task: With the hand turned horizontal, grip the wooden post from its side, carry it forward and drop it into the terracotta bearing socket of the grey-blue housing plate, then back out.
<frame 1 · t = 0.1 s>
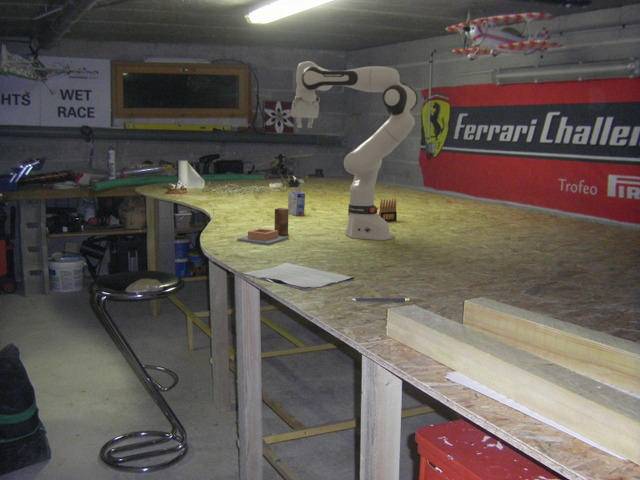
hand: (304, 127, 295), 48 cm above the table, tool pointing down, fingers open, 8 cm apart
housing: (263, 240, 273), on the table
wooden post: (281, 234, 286), on the table
ammunition clip: (387, 221, 331), on the table
ink cartridge box: (296, 215, 346), on the table
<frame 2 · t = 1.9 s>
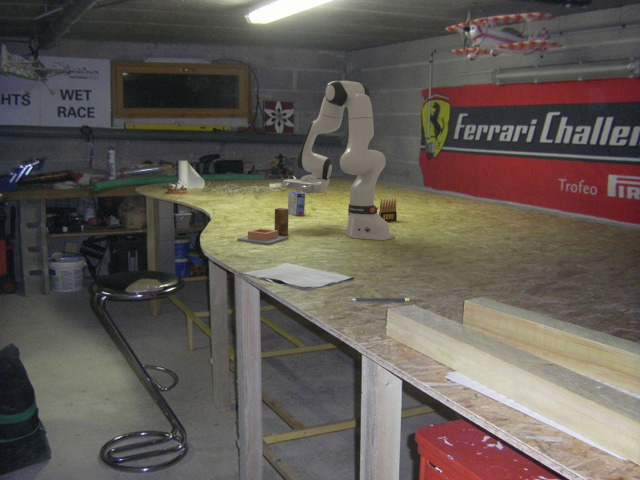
hand: (295, 187, 292), 21 cm above the table, tool horizontal, fingers open, 8 cm apart
nothing on the table moved.
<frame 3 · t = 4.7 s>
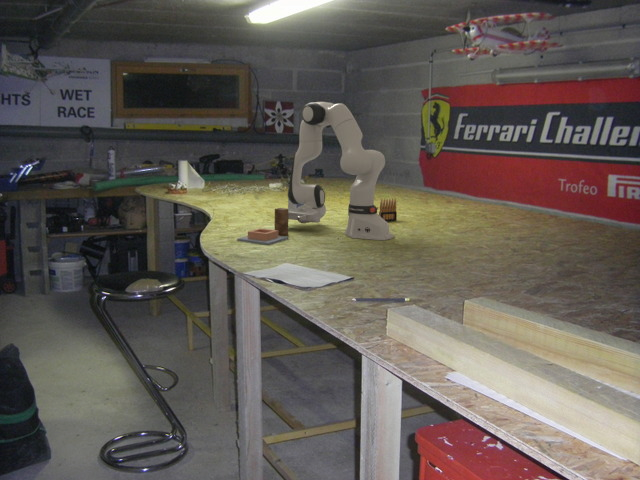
hand: (289, 217, 291), 7 cm above the table, tool horizontal, fingers open, 8 cm apart
nothing on the table moved.
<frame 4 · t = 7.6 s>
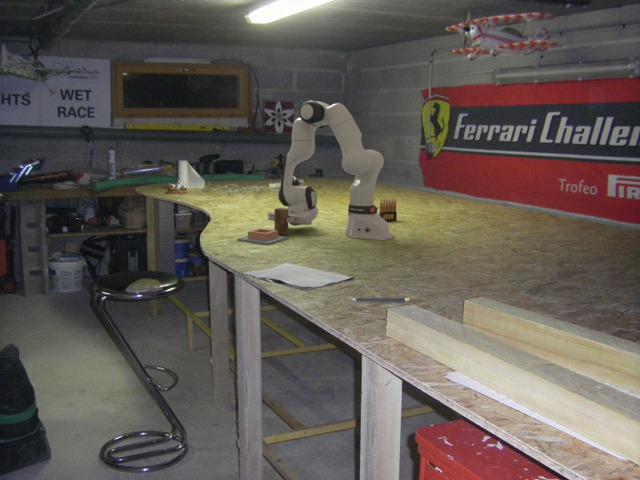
hand: (280, 219, 284), 7 cm above the table, tool horizontal, fingers closed on wooden post, 4 cm apart
wooden post: (281, 234, 286), on the table, touching gripper
everything else where it was.
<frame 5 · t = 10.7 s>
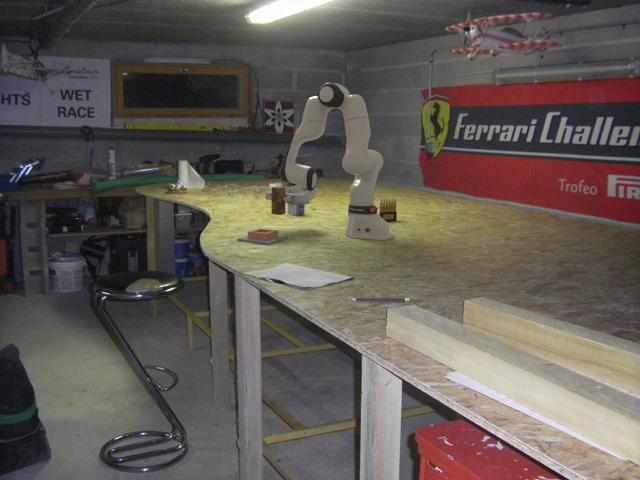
hand: (277, 198, 280), 17 cm above the table, tool horizontal, fingers closed on wooden post, 4 cm apart
wooden post: (278, 213, 282), point 10 cm above the table, touching gripper
everything else where it was.
when the fingers open (9 cm above the table, at t = 14.2 s): wooden post drops 1 cm, resting on housing.
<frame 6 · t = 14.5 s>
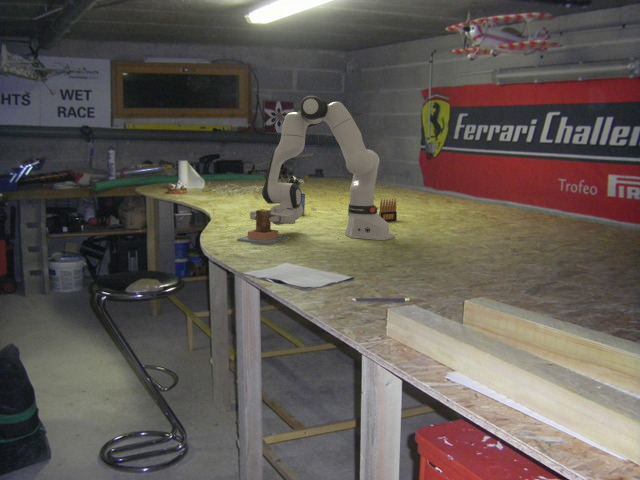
hand: (262, 218, 270), 9 cm above the table, tool horizontal, fingers open, 7 cm apart
wooden post: (263, 237, 273), point 1 cm above the table, touching housing
everything else where it was.
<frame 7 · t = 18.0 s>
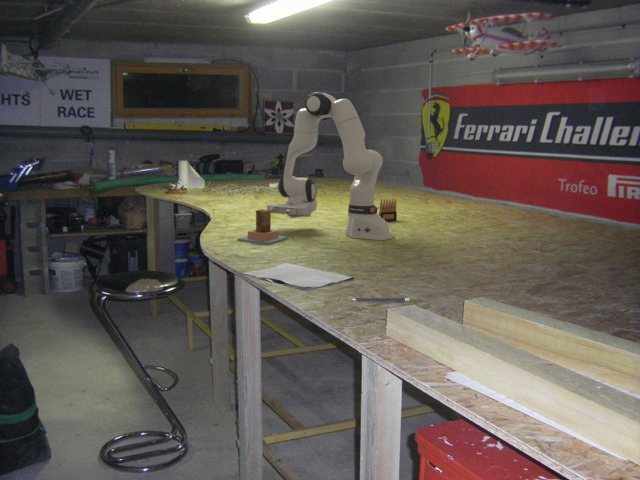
hand: (279, 211, 281), 11 cm above the table, tool horizontal, fingers open, 8 cm apart
nothing on the table moved.
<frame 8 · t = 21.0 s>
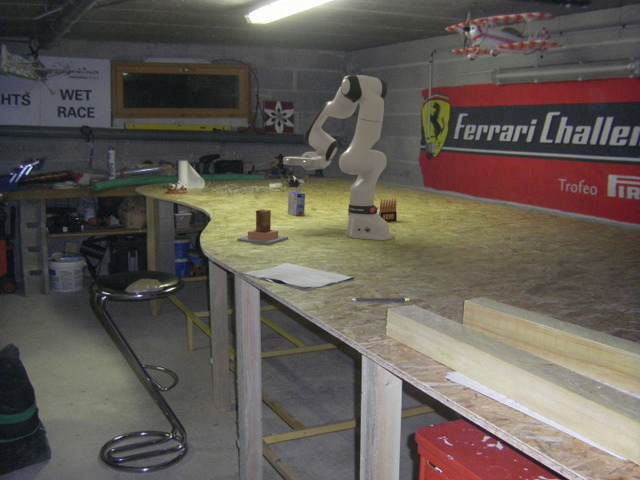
hand: (295, 162, 294), 32 cm above the table, tool horizontal, fingers open, 8 cm apart
nothing on the table moved.
at the end: wooden post 0.1 cm off-centre on the housing, point 1.0 cm above the housing's base; wooden post tilted 0°; the gripper is holding nothing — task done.
